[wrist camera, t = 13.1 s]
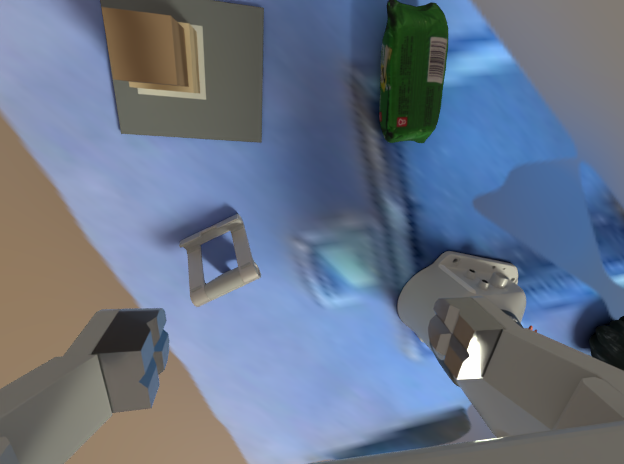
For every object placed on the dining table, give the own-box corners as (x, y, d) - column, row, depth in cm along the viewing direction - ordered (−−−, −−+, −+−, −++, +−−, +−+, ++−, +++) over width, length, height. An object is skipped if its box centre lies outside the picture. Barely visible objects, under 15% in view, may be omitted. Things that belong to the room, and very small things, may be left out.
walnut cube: (184, 28, 29) (170, 15, 24) (188, 86, 31) (177, 84, 26) (126, 22, 28) (101, 6, 23) (135, 82, 30) (113, 79, 25)
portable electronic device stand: (237, 211, 42) (233, 236, 34) (264, 255, 45) (265, 287, 37) (181, 238, 42) (165, 268, 34) (212, 280, 45) (203, 316, 38)
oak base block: (196, 31, 32) (189, 23, 29) (200, 93, 34) (193, 92, 31) (135, 24, 31) (119, 14, 27) (143, 88, 33) (129, 87, 30)
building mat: (263, 9, 33) (263, 7, 32) (261, 141, 38) (261, 142, 38) (100, -15, 30) (97, -17, 29) (123, 133, 35) (120, 133, 35)
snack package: (433, 3, 36) (460, -12, 31) (422, 140, 42) (442, 145, 37) (376, 5, 35) (394, -10, 30) (372, 144, 41) (387, 150, 36)
